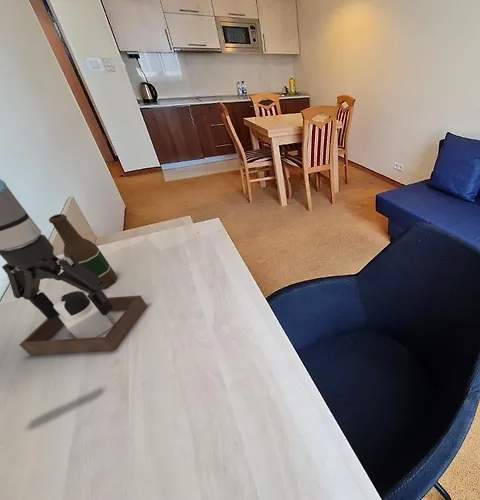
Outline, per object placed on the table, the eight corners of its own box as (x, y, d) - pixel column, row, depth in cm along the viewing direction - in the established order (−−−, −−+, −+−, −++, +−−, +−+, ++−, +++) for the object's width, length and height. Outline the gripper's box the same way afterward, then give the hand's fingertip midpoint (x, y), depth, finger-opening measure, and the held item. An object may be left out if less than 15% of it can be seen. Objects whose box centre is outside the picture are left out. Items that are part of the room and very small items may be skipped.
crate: (33, 358, 73) (18, 344, 70) (76, 313, 85) (66, 300, 82) (116, 352, 72) (105, 339, 69) (148, 308, 84) (140, 295, 81)
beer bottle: (86, 284, 95) (36, 218, 82) (114, 272, 100) (70, 207, 86) (92, 295, 91) (39, 226, 77) (121, 282, 95) (76, 214, 81)
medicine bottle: (105, 317, 83) (79, 284, 76) (115, 328, 79) (89, 294, 72) (74, 334, 78) (44, 301, 71) (84, 347, 74) (53, 313, 67)
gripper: (91, 227, 65) (138, 298, 77) (-20, 236, 66) (44, 306, 78) (65, 247, 59) (121, 321, 71) (-57, 257, 60) (19, 328, 72)
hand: (81, 313), depth 75 cm, fingers open, 13 cm apart
